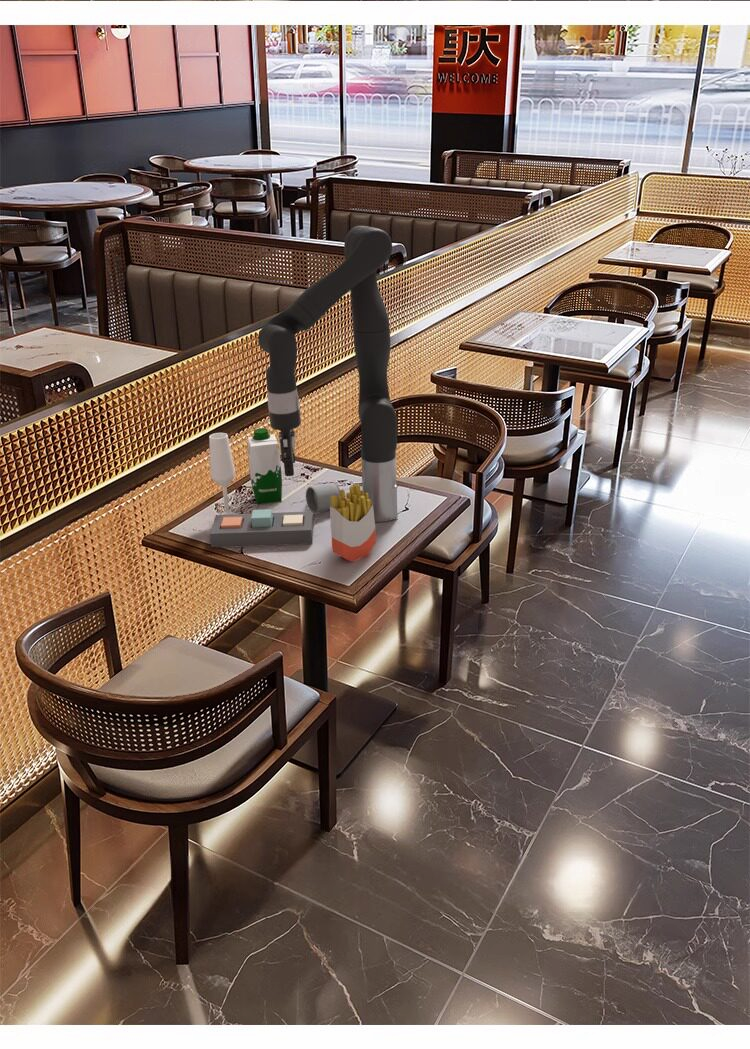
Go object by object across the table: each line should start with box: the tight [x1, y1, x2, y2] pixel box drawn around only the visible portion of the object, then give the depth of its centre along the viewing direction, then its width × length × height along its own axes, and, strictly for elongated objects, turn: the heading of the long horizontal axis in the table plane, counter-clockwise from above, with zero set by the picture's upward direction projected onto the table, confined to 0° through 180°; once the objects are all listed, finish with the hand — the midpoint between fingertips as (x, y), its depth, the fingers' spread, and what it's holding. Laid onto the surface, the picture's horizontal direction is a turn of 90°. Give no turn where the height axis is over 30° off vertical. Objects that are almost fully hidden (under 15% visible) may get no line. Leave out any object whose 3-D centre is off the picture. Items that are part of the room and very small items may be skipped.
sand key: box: [283, 515, 304, 526], centre depth 225 cm, size 5×5×3 cm
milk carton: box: [247, 427, 283, 505], centre depth 244 cm, size 9×9×20 cm
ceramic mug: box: [305, 482, 341, 515], centre depth 240 cm, size 11×8×8 cm
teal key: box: [251, 508, 274, 528], centre depth 224 cm, size 5×5×3 cm
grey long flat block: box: [209, 510, 315, 548], centre depth 226 cm, size 26×11×4 cm, turn 92°
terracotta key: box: [221, 517, 243, 529], centre depth 225 cm, size 5×5×3 cm
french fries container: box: [329, 483, 377, 563], centre depth 211 cm, size 5×11×18 cm, turn 133°
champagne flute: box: [209, 432, 237, 515], centre depth 232 cm, size 7×7×24 cm
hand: (290, 469), depth 216 cm, fingers open, 8 cm apart
